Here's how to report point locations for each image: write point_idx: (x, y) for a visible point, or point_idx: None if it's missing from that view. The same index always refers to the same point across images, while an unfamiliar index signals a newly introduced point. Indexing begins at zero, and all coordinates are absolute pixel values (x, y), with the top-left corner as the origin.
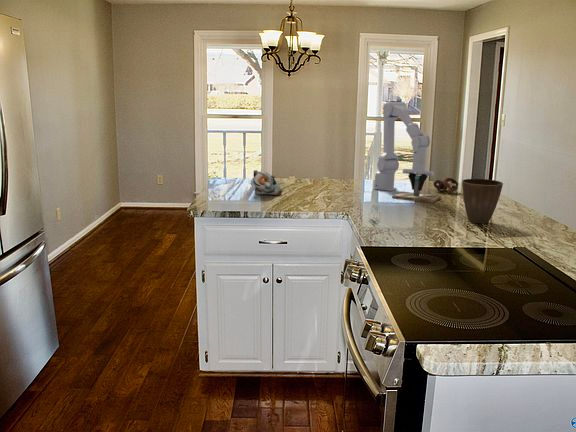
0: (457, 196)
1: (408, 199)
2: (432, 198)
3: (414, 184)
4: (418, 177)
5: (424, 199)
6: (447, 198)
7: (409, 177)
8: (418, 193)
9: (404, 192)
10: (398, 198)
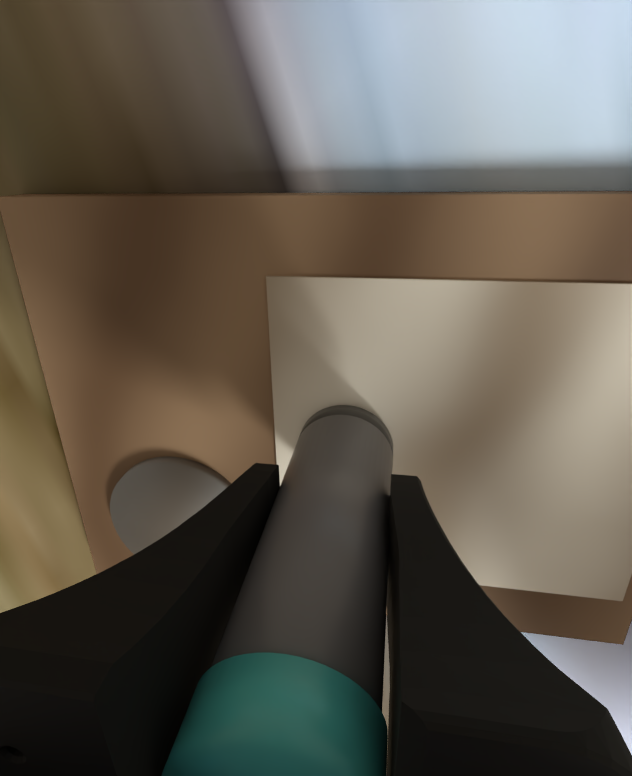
0: None
1: (410, 193)
2: (93, 390)
3: (370, 553)
4: (217, 713)
5: (136, 236)
6: (58, 578)
7: (550, 682)
8: (299, 442)
9: (578, 587)
10: (615, 191)
